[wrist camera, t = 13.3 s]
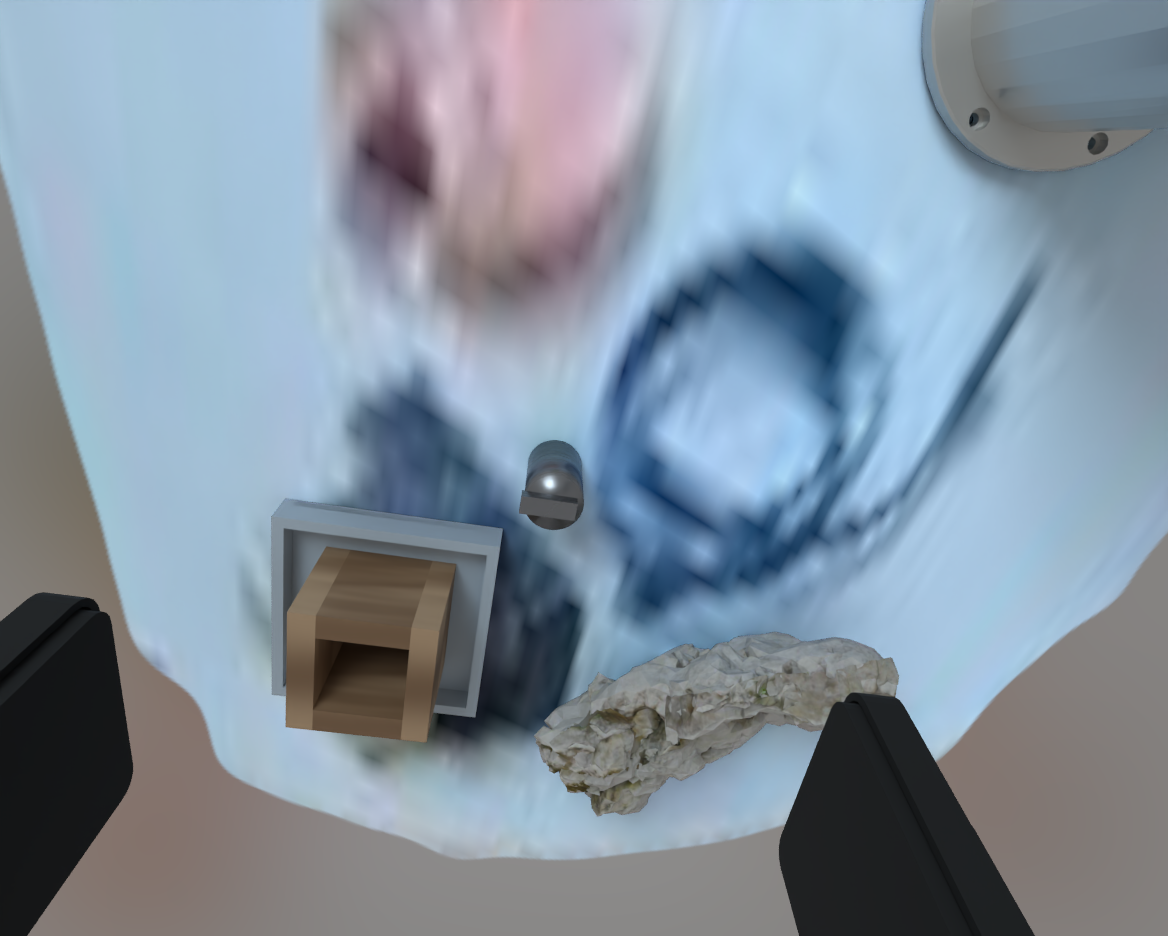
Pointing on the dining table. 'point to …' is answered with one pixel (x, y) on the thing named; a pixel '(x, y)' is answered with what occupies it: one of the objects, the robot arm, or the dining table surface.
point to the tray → (470, 547)
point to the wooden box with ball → (368, 644)
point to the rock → (699, 711)
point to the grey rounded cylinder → (553, 486)
